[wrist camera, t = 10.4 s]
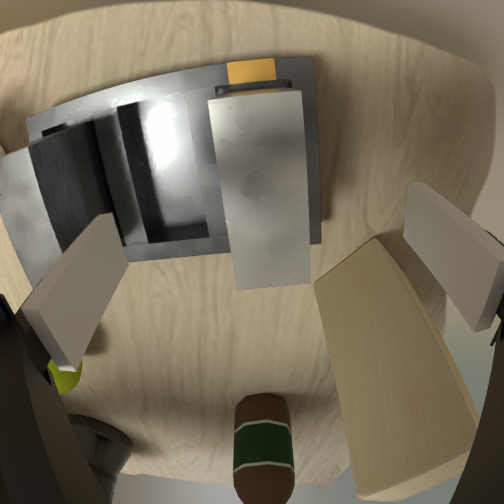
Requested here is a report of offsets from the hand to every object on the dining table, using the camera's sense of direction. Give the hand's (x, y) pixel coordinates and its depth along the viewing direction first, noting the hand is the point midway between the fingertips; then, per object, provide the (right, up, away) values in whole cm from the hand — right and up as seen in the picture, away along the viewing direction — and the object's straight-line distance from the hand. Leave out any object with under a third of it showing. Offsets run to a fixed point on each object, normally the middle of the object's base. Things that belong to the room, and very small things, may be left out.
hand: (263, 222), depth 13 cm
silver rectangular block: (0, +6, +10) cm, 12 cm away
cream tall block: (+11, -4, +18) cm, 21 cm away
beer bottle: (+1, -23, +29) cm, 37 cm away
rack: (-7, +6, +11) cm, 15 cm away
